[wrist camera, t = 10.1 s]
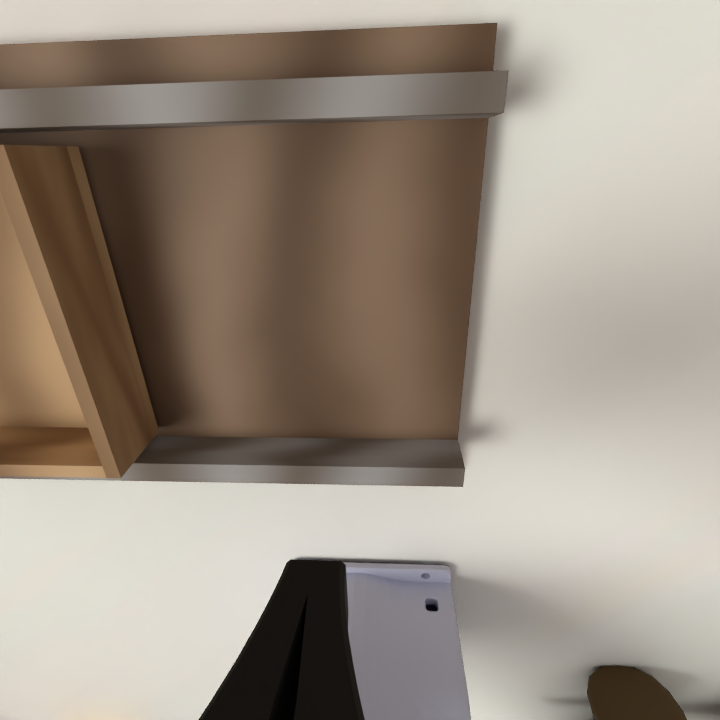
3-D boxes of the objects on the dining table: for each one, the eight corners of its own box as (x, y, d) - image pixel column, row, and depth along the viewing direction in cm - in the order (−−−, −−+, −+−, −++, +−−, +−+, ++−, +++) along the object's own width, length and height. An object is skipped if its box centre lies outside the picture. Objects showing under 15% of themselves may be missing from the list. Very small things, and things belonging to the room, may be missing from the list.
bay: (489, 31, 14) (558, -48, 8) (450, 467, 22) (472, 571, 16) (-245, 62, 15) (-592, 12, 10) (-30, 460, 23) (-156, 553, 18)
